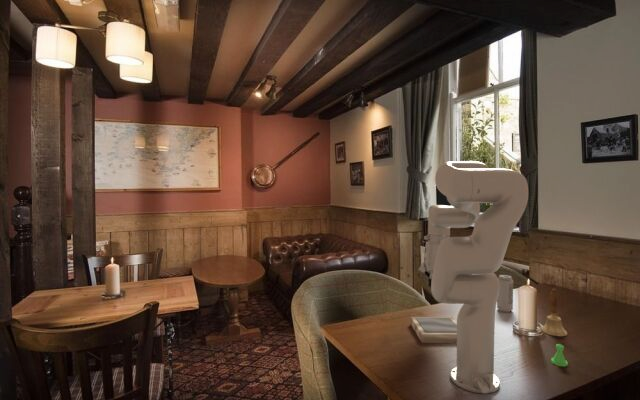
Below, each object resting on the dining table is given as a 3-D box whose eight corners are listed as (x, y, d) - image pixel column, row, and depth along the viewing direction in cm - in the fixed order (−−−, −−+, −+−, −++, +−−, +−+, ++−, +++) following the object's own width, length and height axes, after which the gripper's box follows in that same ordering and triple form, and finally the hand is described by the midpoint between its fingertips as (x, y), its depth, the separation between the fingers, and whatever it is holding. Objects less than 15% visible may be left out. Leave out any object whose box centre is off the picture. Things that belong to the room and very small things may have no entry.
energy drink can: (499, 307, 159) (500, 273, 158) (514, 310, 155) (515, 276, 154) (494, 310, 155) (495, 276, 154) (510, 314, 151) (510, 278, 150)
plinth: (468, 342, 124) (468, 333, 124) (422, 342, 124) (422, 333, 124) (451, 324, 140) (452, 316, 140) (410, 324, 140) (410, 316, 140)
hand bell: (538, 332, 133) (539, 289, 132) (543, 325, 139) (544, 284, 138) (565, 338, 127) (566, 294, 126) (569, 331, 133) (570, 288, 132)
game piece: (549, 363, 110) (549, 343, 110) (552, 358, 113) (553, 339, 113) (565, 368, 107) (566, 348, 107) (569, 363, 110) (569, 343, 110)
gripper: (418, 240, 127) (418, 292, 128) (466, 240, 127) (465, 291, 128) (413, 237, 134) (412, 286, 135) (458, 237, 134) (457, 285, 135)
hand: (438, 288), depth 131 cm, fingers closed on brick, 4 cm apart
